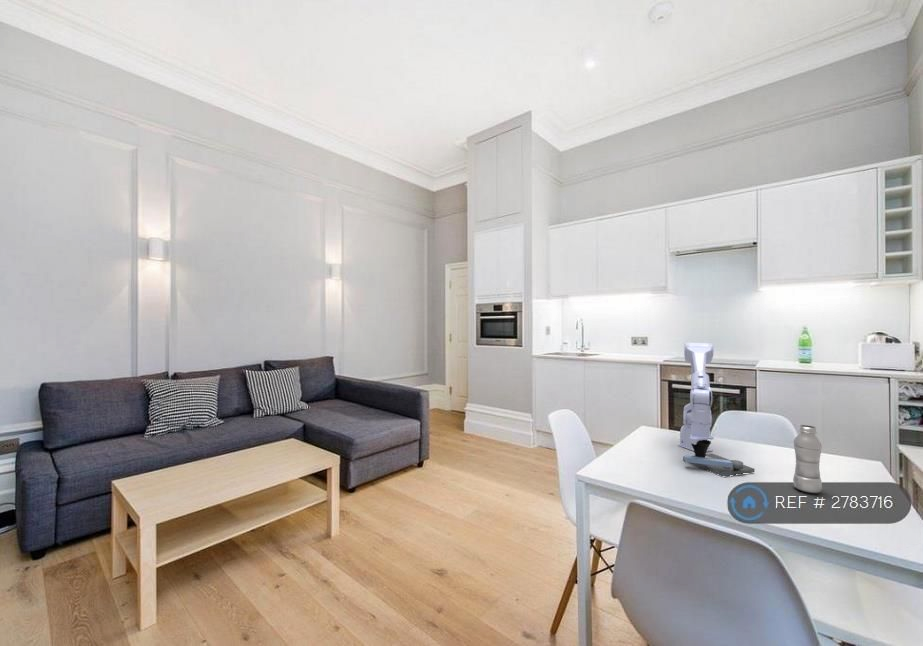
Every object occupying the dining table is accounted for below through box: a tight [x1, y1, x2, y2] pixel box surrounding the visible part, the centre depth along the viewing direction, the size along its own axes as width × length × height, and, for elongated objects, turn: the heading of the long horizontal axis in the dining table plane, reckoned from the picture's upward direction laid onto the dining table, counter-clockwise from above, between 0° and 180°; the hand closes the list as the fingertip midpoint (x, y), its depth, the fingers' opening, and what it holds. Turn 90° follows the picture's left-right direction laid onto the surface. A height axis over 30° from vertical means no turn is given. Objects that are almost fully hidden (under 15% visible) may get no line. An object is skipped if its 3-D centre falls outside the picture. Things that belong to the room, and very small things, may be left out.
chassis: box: [682, 453, 755, 477], centre depth 137 cm, size 16×14×2 cm
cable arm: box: [683, 454, 744, 469], centre depth 132 cm, size 17×4×2 cm, turn 69°
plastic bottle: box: [792, 424, 823, 494], centre depth 117 cm, size 6×7×20 cm
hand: (700, 460), depth 136 cm, fingers closed
